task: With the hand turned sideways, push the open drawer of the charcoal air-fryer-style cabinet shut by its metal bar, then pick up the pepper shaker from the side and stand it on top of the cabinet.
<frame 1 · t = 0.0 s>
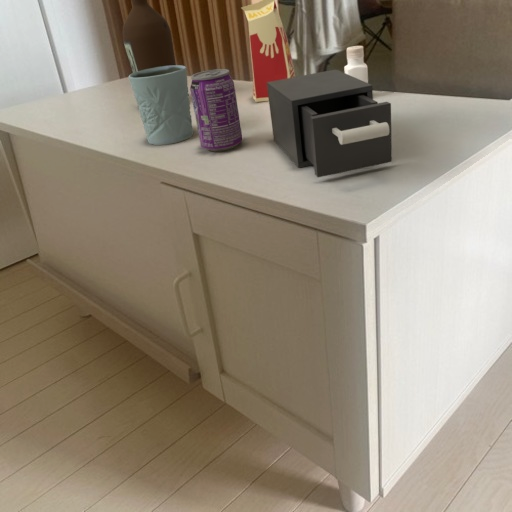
olive oil: (162, 105, 126), on the table
beverage can: (222, 147, 91), on the table
drawer: (341, 132, 73), point 5 cm above the table, slide at 6.0 cm
milk carton: (273, 96, 118), on the table
embossed ceramic cup: (171, 138, 101), on the table
cabinet: (320, 146, 84), on the table
pepper shaker: (357, 98, 107), on the table
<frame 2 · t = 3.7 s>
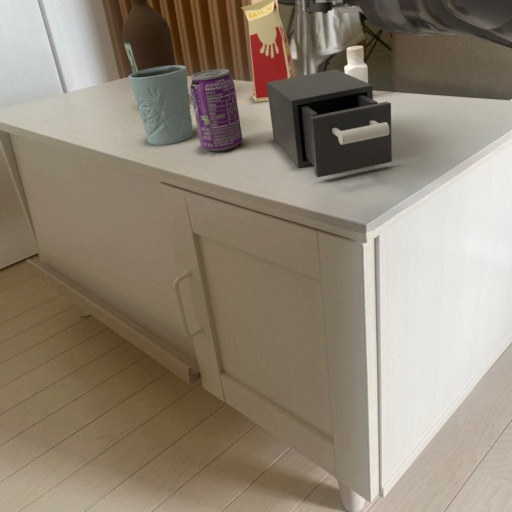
nothing on the table moved.
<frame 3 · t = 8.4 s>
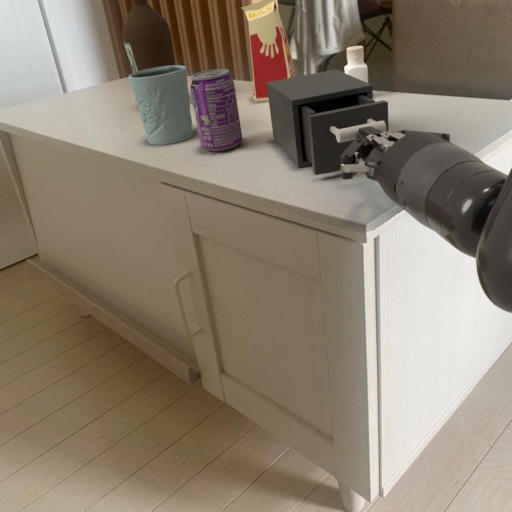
hand: (363, 135, 65), 6 cm above the table, tool horizontal, fingers closed
drawer: (339, 130, 74), point 5 cm above the table, slide at 5.1 cm, touching gripper
everything else where it was.
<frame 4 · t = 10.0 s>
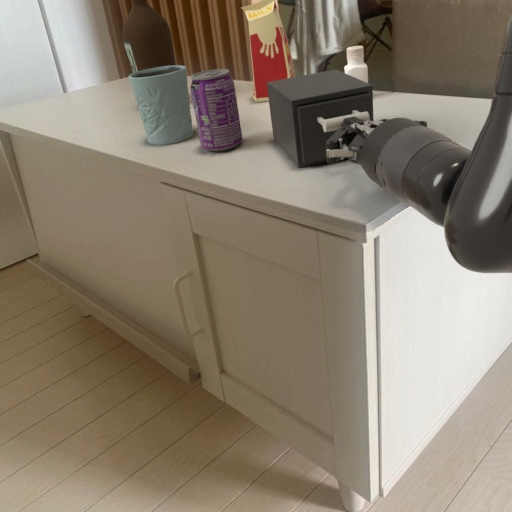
hand: (348, 125, 70), 6 cm above the table, tool horizontal, fingers closed
drawer: (326, 121, 78), point 5 cm above the table, slide at 0.0 cm, touching cabinet, gripper
everything else where it was.
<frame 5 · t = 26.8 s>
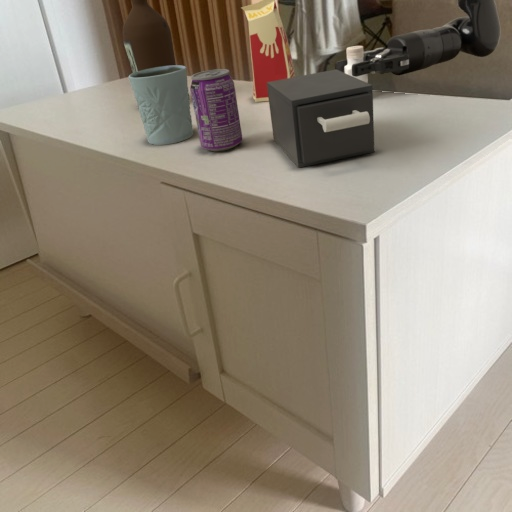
hand: (344, 69, 103), 6 cm above the table, tool horizontal, fingers closed on pepper shaker, 5 cm apart
drawer: (326, 121, 78), point 5 cm above the table, slide at 0.0 cm, touching cabinet
pepper shaker: (357, 98, 107), on the table, touching gripper
everything else where it was.
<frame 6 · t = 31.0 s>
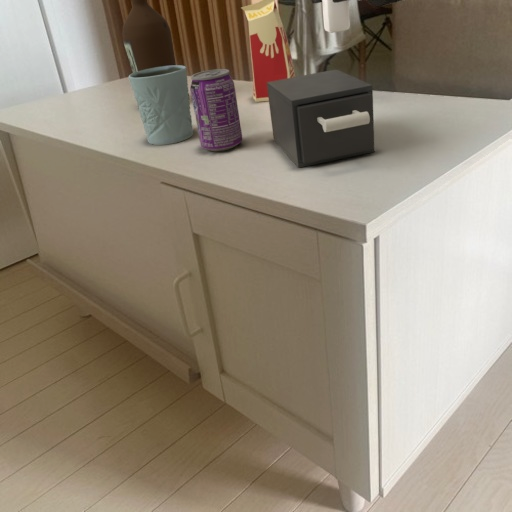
pepper shaker: (337, 31, 96), point 13 cm above the table, touching gripper
everything else where it was.
when the fingers open (16 cm above the table, at t = 35.3 s): pepper shaker stays where it is, resting on cabinet.
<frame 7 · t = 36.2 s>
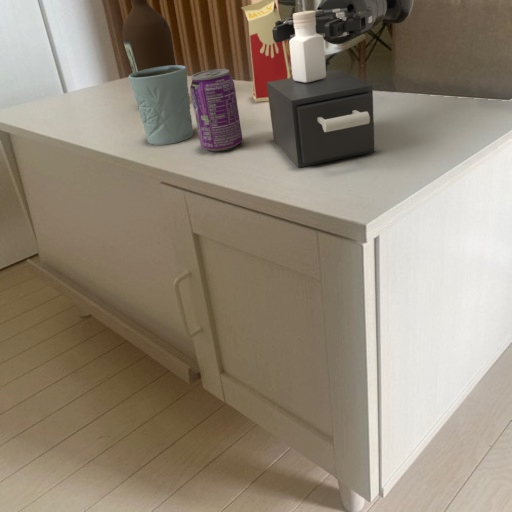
hand: (300, 33, 78), 17 cm above the table, tool horizontal, fingers open, 8 cm apart
pepper shaker: (309, 81, 82), point 9 cm above the table, touching cabinet
everything else where it was.
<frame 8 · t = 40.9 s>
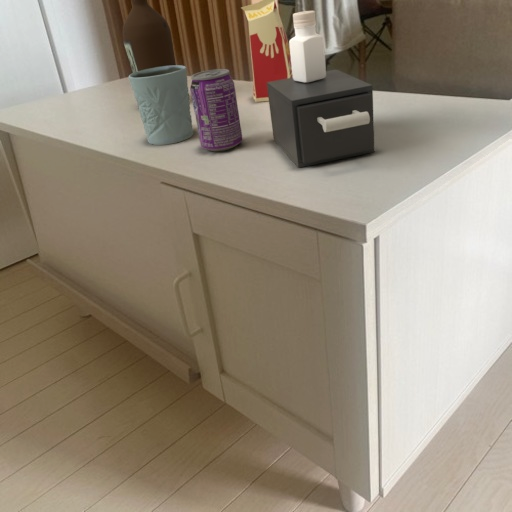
nothing on the table moved.
at the end: drawer slide at 0.0 cm; pepper shaker inside the target area on the cabinet (3.1 cm from its centre), point 9.4 cm above the cabinet's base; pepper shaker tilted 0° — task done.
